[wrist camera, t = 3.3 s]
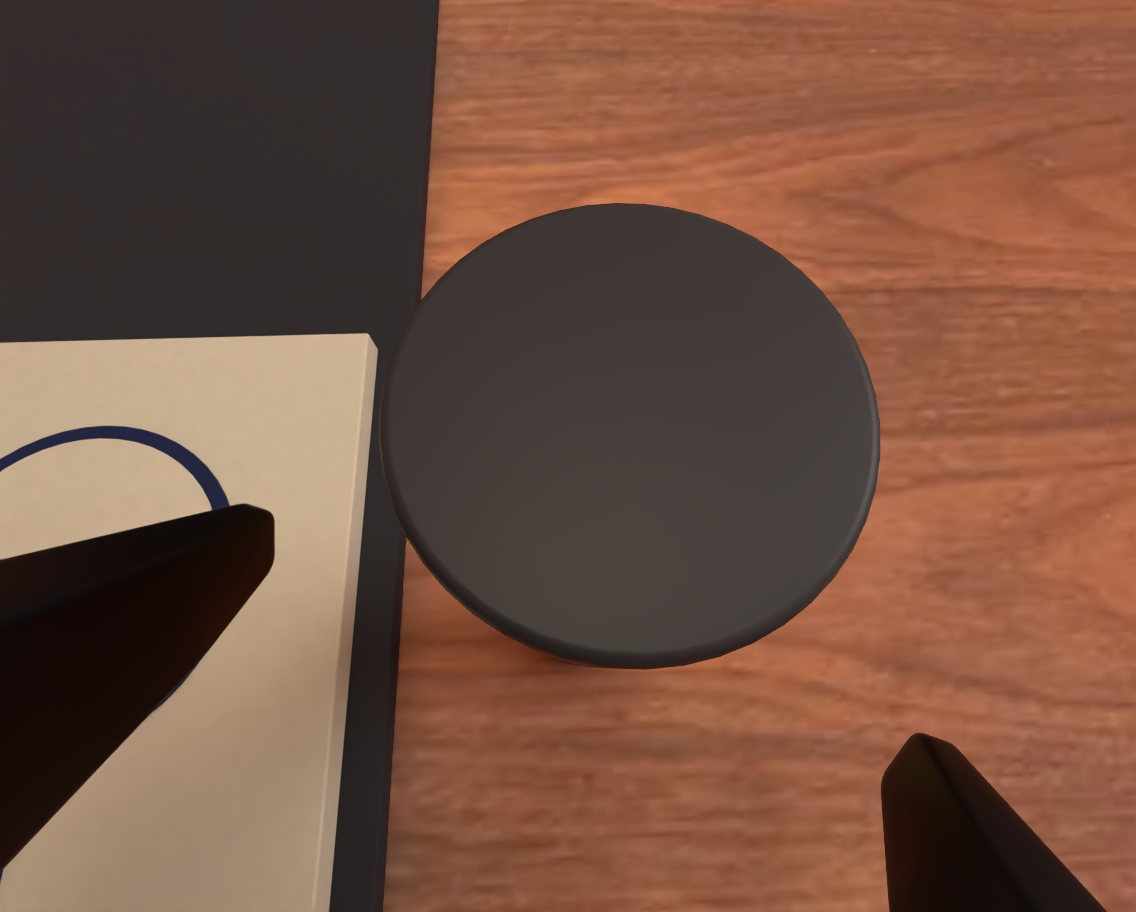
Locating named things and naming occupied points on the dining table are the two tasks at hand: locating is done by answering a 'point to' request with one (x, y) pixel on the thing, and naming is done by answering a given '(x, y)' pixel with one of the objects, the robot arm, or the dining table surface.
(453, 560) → the disc
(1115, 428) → the dining table surface
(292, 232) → the long black board
